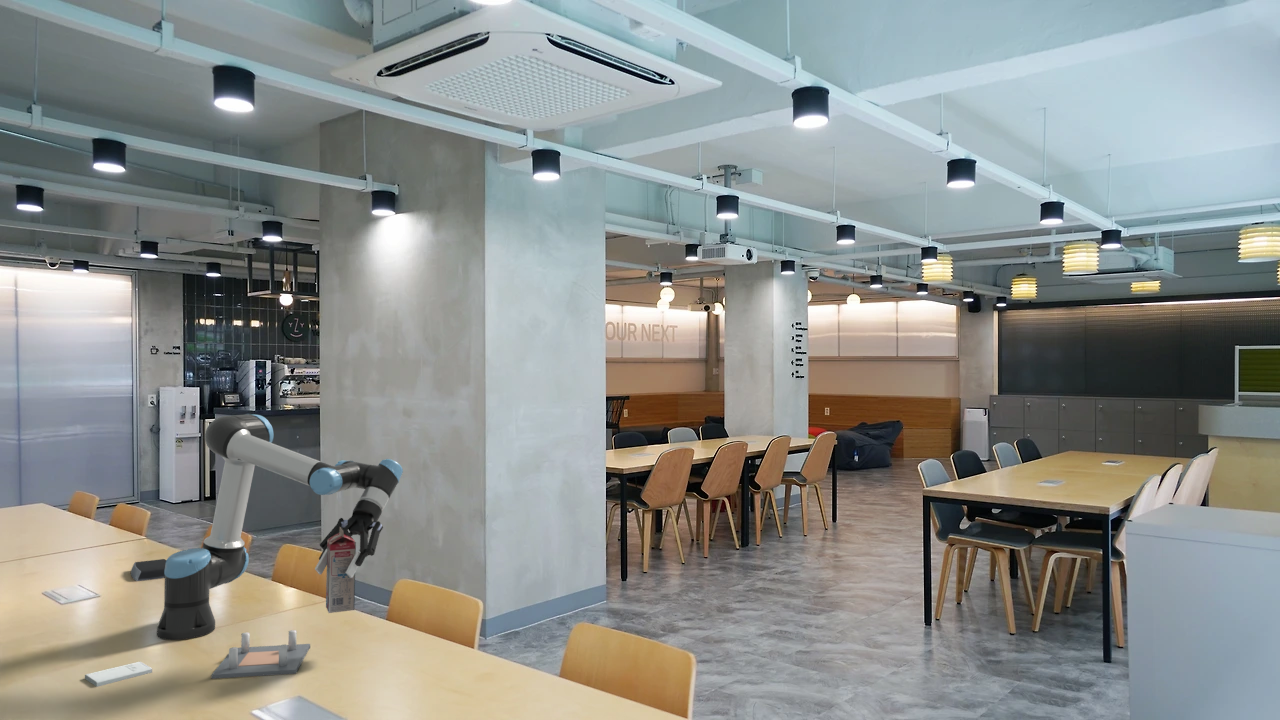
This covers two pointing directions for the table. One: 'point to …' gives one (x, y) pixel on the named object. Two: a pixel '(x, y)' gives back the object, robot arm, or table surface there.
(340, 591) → the juice carton
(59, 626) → the table surface
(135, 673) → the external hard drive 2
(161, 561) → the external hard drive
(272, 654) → the peg stand
